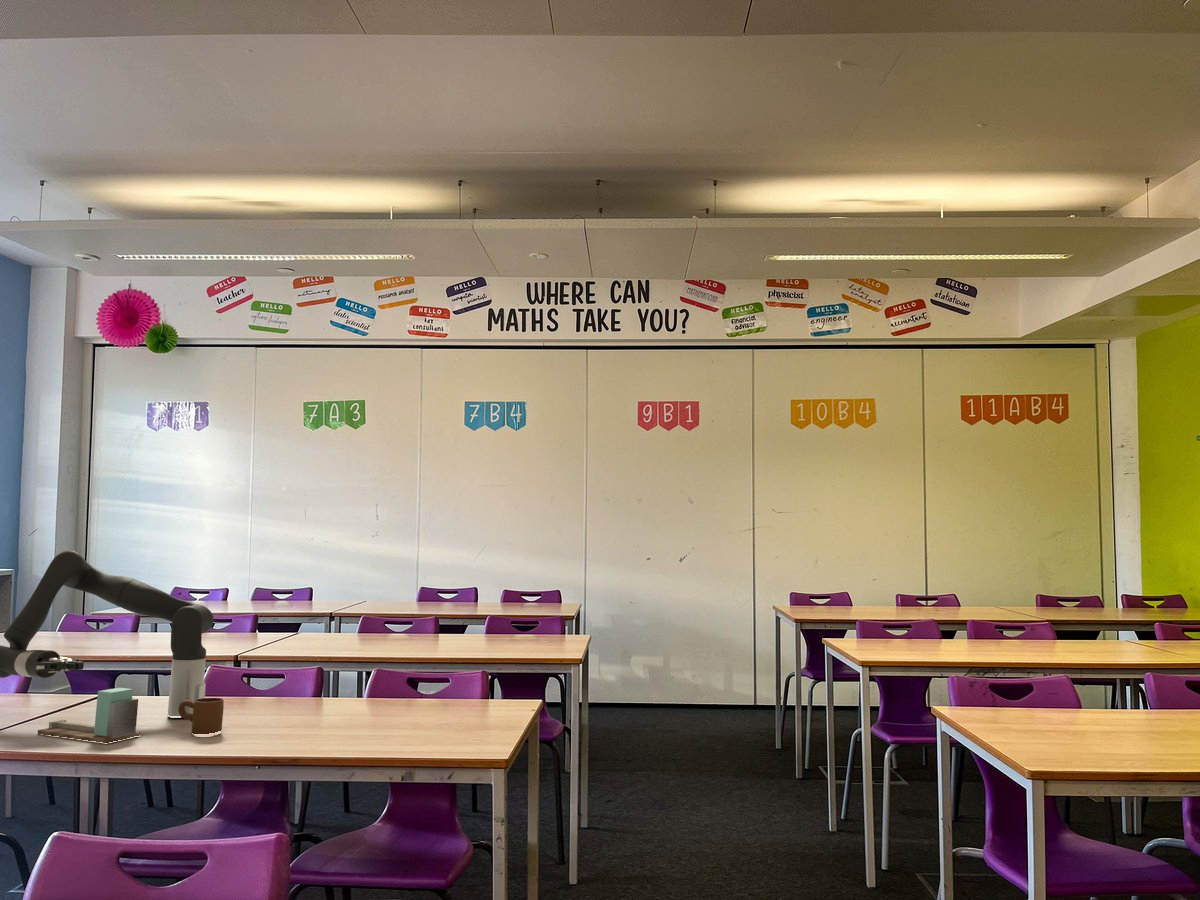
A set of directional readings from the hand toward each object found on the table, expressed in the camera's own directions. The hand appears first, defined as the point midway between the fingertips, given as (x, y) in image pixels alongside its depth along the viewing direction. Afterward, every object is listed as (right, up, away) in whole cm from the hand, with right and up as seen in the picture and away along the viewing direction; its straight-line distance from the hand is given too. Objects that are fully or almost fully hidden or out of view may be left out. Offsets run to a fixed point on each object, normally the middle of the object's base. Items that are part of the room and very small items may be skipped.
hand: (81, 665), depth 228 cm
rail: (+5, -17, -4) cm, 18 cm away
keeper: (+13, -16, -7) cm, 22 cm away
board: (+5, -18, -4) cm, 19 cm away
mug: (+33, -19, 0) cm, 38 cm away
